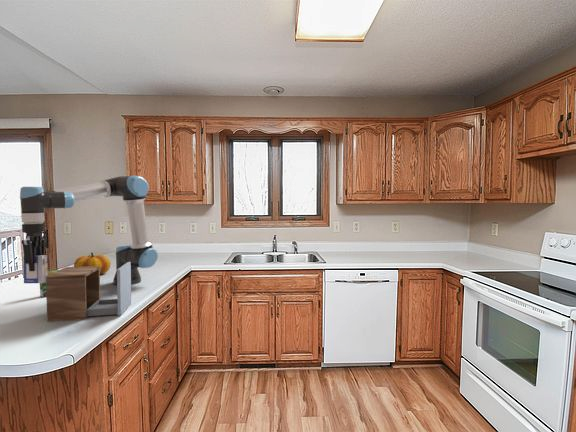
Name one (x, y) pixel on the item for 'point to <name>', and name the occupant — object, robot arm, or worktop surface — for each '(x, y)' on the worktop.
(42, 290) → the coffee box
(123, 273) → the drawer
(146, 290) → the worktop surface
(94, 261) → the decorative pumpkin
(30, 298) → the worktop surface
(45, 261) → the walkman
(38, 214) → the robot arm
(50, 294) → the block
